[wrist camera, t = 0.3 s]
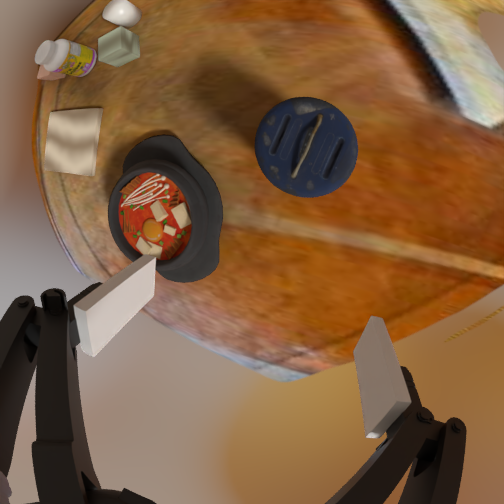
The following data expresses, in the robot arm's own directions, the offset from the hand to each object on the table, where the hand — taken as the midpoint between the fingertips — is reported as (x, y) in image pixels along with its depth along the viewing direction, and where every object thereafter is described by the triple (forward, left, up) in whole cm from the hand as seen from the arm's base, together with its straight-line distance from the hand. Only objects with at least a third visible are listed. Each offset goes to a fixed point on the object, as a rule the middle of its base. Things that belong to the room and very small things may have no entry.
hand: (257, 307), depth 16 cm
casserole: (+3, -18, -28) cm, 34 cm away
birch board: (-7, -44, -28) cm, 53 cm away
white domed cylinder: (-33, -35, -28) cm, 56 cm away
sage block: (-25, -33, -28) cm, 50 cm away
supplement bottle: (-24, -44, -28) cm, 58 cm away
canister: (-10, +1, -28) cm, 29 cm away
